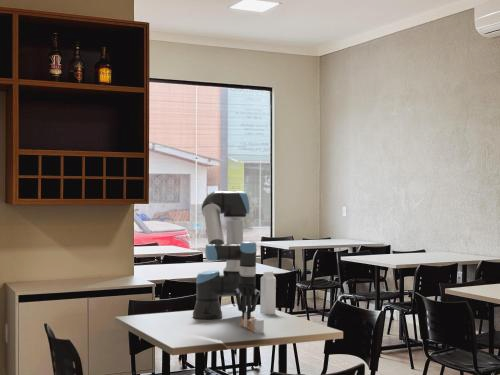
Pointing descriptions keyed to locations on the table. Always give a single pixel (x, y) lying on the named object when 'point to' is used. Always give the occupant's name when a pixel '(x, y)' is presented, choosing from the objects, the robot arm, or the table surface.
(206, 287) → the robot arm
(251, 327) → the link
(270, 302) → the milk
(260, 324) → the cylinder
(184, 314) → the table surface
